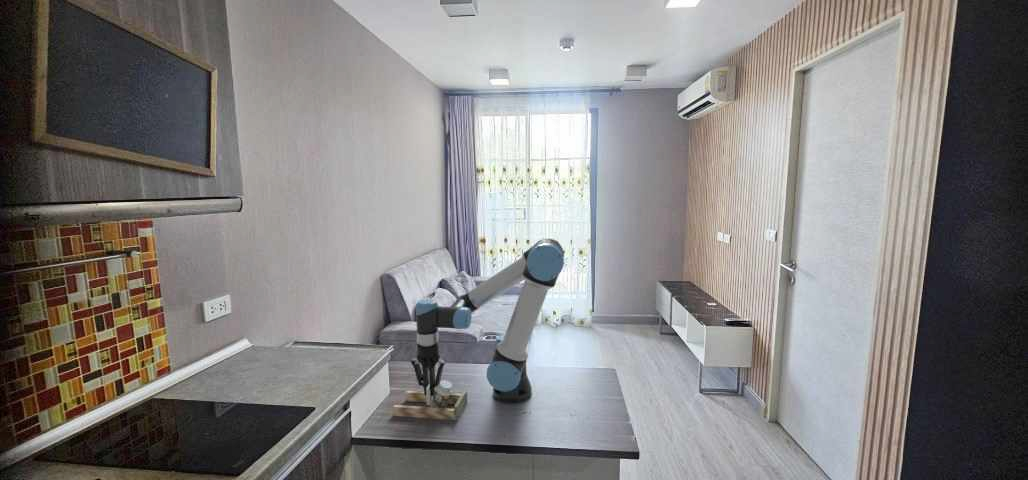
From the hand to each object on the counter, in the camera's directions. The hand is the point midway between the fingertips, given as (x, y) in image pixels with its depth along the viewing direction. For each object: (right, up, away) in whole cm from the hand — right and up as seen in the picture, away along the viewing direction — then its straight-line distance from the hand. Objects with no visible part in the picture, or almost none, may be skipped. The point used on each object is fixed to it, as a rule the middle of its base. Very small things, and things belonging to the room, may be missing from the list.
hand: (429, 403), depth 147 cm
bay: (0, -2, 0) cm, 2 cm away
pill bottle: (+3, -1, -1) cm, 3 cm away
